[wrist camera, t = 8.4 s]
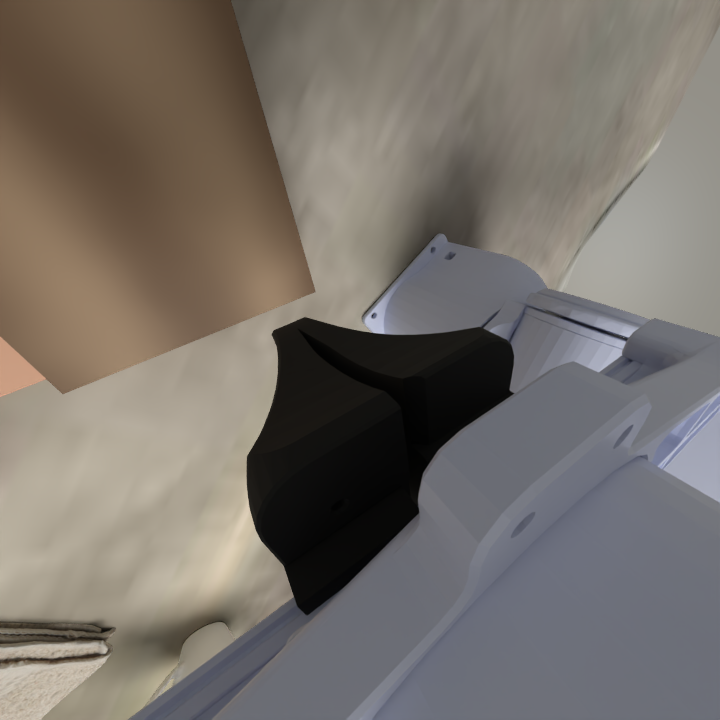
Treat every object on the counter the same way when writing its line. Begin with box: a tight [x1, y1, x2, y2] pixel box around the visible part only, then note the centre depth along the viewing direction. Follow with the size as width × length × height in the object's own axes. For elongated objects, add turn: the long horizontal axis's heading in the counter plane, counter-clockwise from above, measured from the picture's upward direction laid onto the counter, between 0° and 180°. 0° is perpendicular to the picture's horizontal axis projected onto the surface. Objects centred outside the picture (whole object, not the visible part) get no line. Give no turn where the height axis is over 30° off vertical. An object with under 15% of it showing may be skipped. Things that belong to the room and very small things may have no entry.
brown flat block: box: [0, 0, 315, 394], centre depth 12 cm, size 12×12×4 cm
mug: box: [144, 622, 235, 707], centre depth 28 cm, size 12×8×11 cm
